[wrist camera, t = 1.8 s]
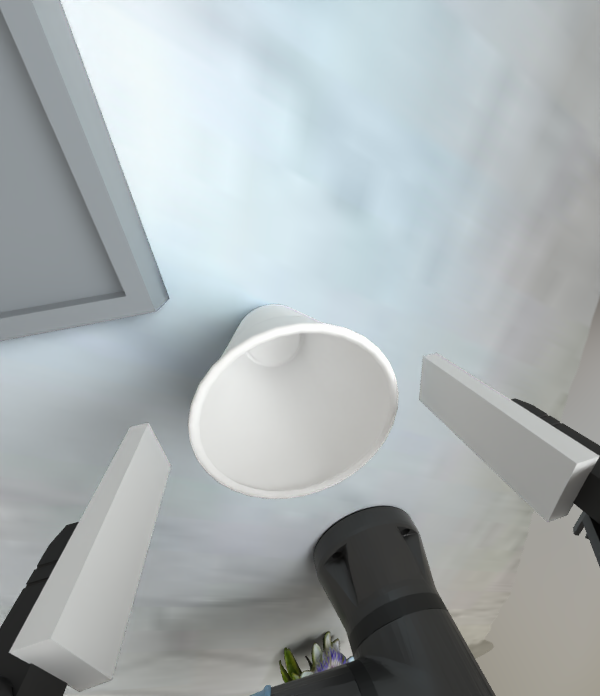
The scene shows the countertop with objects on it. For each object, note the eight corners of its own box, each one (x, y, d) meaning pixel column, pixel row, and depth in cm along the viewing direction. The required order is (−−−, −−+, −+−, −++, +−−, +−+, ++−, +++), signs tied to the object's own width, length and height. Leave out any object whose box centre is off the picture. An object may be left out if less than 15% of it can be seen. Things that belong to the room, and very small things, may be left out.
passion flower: (317, 596, 52) (371, 656, 45) (301, 638, 54) (351, 703, 47) (280, 644, 43) (340, 729, 36) (263, 694, 45) (317, 784, 38)
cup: (304, 398, 25) (347, 505, 15) (197, 375, 22) (165, 493, 12) (347, 302, 22) (436, 359, 12) (231, 258, 19) (224, 288, 9)
